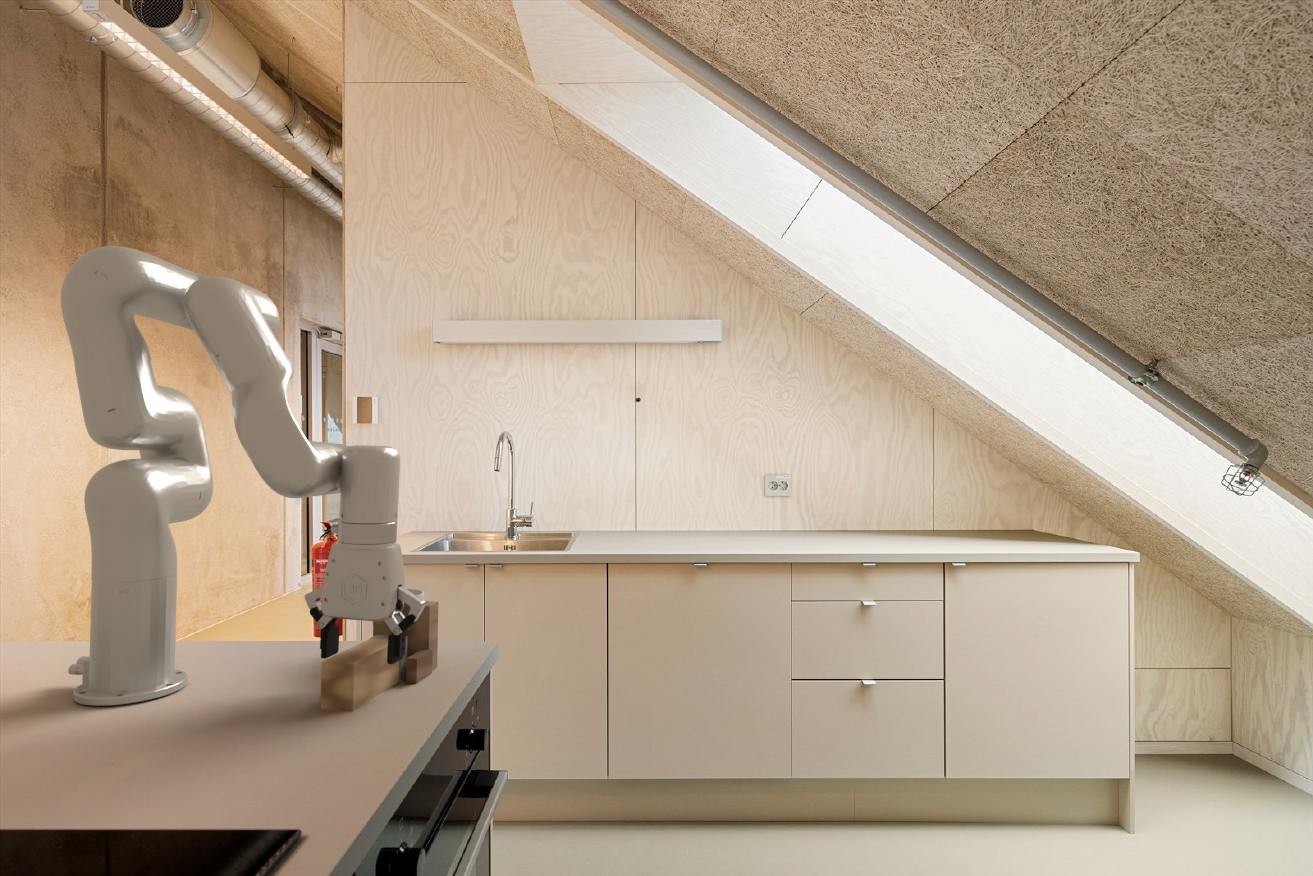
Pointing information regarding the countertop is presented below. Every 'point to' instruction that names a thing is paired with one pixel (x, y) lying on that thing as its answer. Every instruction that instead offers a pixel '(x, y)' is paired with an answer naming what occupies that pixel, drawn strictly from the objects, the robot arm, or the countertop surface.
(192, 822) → the countertop surface
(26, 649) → the countertop surface
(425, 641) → the wooden footed block
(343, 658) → the wooden block
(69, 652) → the countertop surface
